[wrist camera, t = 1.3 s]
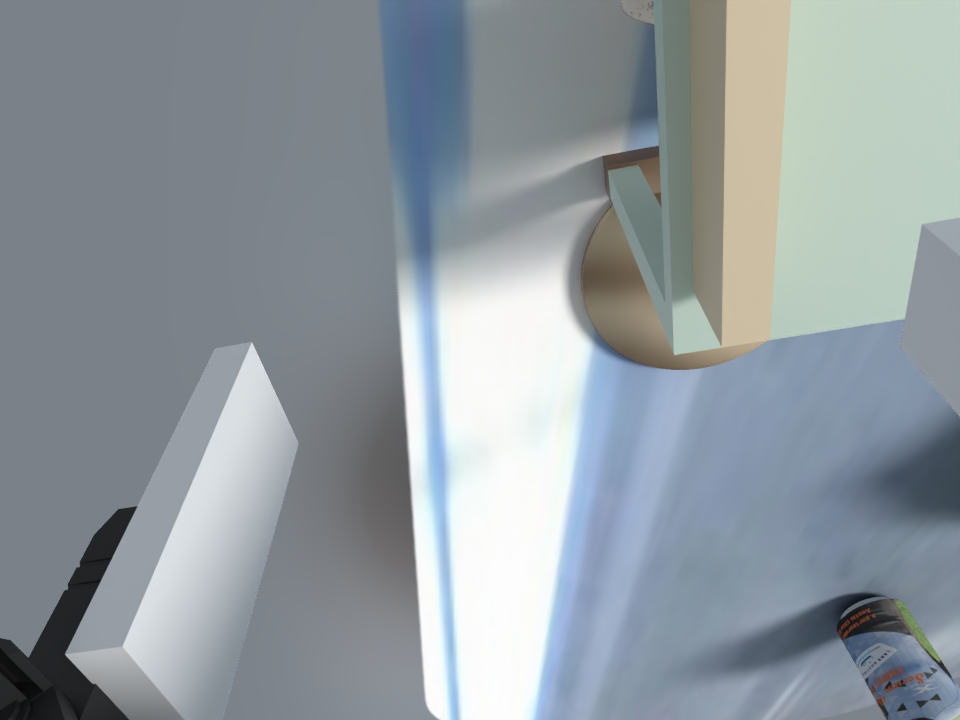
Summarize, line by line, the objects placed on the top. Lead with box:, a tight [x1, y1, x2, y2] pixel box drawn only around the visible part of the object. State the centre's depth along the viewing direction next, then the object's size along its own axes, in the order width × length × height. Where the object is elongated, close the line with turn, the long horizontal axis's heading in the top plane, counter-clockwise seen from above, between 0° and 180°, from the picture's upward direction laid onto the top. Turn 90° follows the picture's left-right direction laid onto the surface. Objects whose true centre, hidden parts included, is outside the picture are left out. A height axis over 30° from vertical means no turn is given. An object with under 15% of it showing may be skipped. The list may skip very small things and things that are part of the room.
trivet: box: [581, 192, 768, 370], centre depth 43 cm, size 14×14×1 cm
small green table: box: [608, 0, 960, 355], centre depth 26 cm, size 17×14×18 cm
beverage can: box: [837, 597, 960, 720], centre depth 59 cm, size 6×7×12 cm
